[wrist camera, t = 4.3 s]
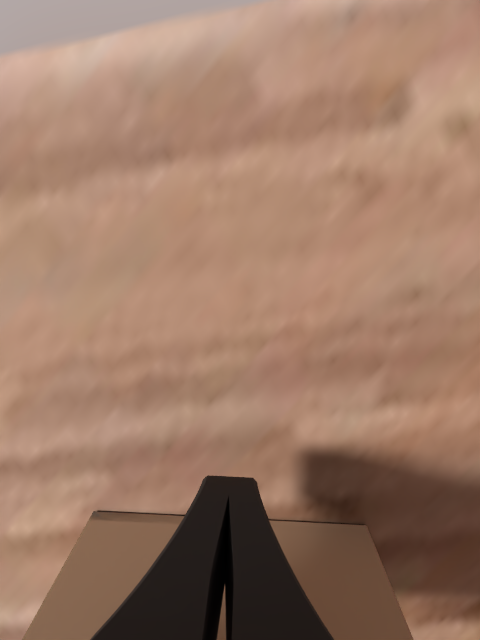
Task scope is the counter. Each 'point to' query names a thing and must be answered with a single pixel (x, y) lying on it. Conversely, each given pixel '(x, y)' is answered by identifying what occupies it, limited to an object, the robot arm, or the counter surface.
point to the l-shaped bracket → (299, 549)
